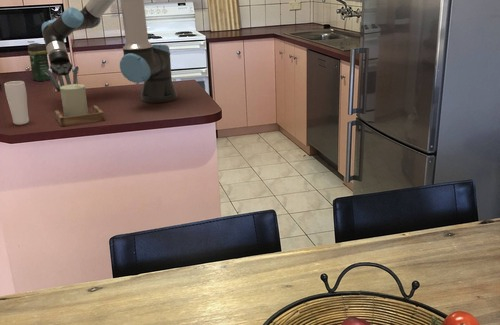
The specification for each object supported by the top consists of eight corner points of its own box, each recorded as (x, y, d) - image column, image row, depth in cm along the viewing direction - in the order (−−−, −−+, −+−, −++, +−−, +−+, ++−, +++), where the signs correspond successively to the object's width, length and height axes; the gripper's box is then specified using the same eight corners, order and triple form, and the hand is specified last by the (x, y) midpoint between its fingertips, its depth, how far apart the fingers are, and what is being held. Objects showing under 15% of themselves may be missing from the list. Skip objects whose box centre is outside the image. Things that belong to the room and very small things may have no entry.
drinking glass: (25, 119, 195) (18, 80, 190) (34, 122, 191) (28, 82, 186) (8, 123, 191) (0, 83, 185) (17, 126, 186) (9, 85, 181)
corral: (55, 118, 196) (54, 110, 195) (96, 112, 203) (95, 105, 202) (61, 126, 186) (60, 118, 184) (104, 120, 192) (103, 112, 191)
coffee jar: (53, 79, 266) (48, 43, 260) (38, 82, 261) (32, 44, 255) (45, 77, 273) (39, 41, 266) (30, 79, 268) (24, 43, 261)
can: (79, 120, 193) (75, 88, 189) (58, 118, 196) (54, 87, 192) (93, 114, 201) (90, 83, 197) (73, 112, 204) (69, 82, 200)
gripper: (74, 59, 215) (87, 107, 207) (41, 62, 210) (53, 112, 202) (75, 48, 209) (88, 97, 201) (40, 51, 203) (53, 101, 196)
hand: (71, 104), depth 202 cm, fingers closed
